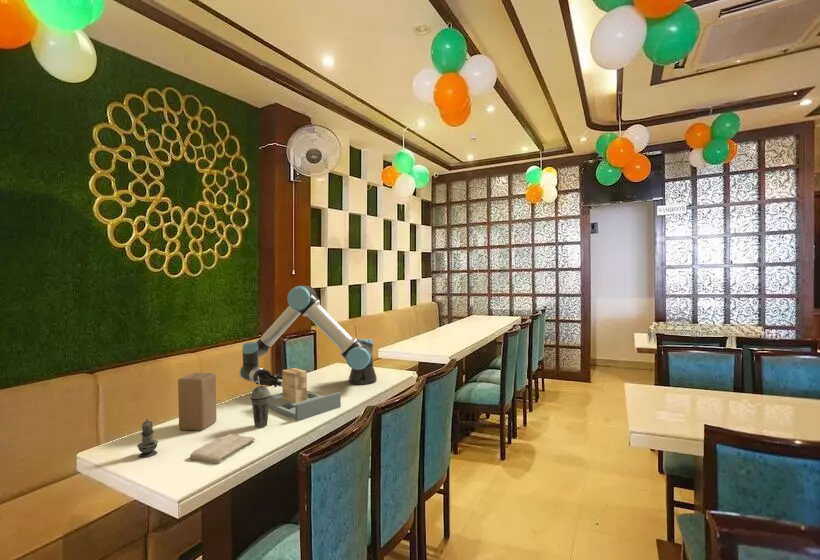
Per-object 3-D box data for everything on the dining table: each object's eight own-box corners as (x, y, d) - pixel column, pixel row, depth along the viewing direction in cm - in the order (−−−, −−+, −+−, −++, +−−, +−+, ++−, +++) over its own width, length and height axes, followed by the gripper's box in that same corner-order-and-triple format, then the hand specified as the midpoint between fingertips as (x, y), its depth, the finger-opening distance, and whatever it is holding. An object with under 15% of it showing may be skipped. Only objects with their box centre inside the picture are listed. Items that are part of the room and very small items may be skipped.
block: (217, 421, 164) (216, 372, 163) (202, 431, 154) (201, 379, 153) (194, 421, 165) (193, 372, 164) (177, 430, 155) (176, 378, 154)
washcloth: (257, 443, 144) (257, 434, 144) (219, 466, 127) (218, 456, 127) (229, 439, 148) (229, 430, 148) (189, 461, 131) (189, 451, 131)
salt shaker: (143, 450, 137) (142, 415, 137) (162, 450, 138) (161, 415, 138) (133, 458, 132) (132, 422, 131) (152, 458, 132) (151, 421, 132)
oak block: (293, 395, 189) (293, 367, 189) (307, 399, 183) (306, 371, 183) (282, 398, 184) (282, 370, 184) (295, 403, 178) (295, 373, 178)
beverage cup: (274, 423, 161) (273, 373, 161) (262, 430, 154) (261, 378, 154) (259, 421, 163) (258, 372, 163) (246, 428, 156) (245, 376, 156)
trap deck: (299, 393, 201) (299, 380, 201) (340, 407, 180) (340, 392, 180) (257, 404, 184) (257, 390, 184) (297, 421, 163) (297, 405, 163)
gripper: (272, 381, 207) (298, 389, 191) (247, 386, 197) (273, 396, 181) (272, 366, 207) (298, 373, 191) (247, 371, 197) (273, 379, 181)
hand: (286, 384), depth 186 cm, fingers closed
